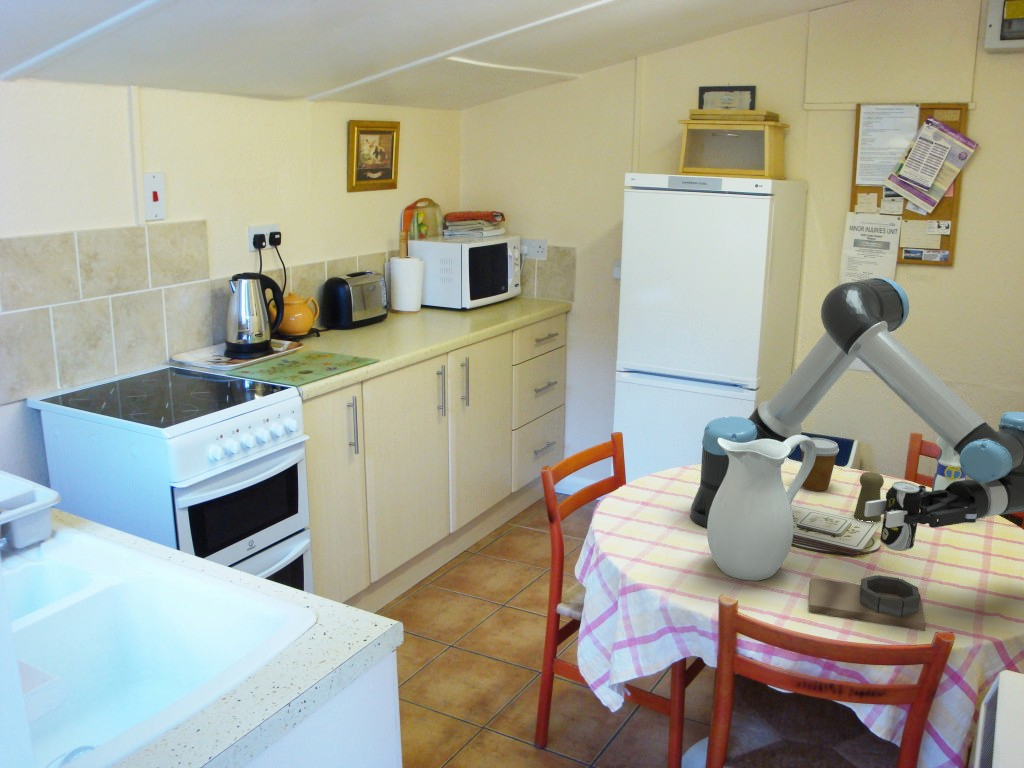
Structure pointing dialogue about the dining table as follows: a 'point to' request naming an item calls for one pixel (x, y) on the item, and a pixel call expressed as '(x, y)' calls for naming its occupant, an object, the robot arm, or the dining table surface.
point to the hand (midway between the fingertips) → (877, 514)
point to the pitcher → (755, 507)
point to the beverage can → (906, 500)
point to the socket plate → (851, 606)
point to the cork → (868, 494)
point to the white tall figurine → (947, 467)
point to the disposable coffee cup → (821, 464)
